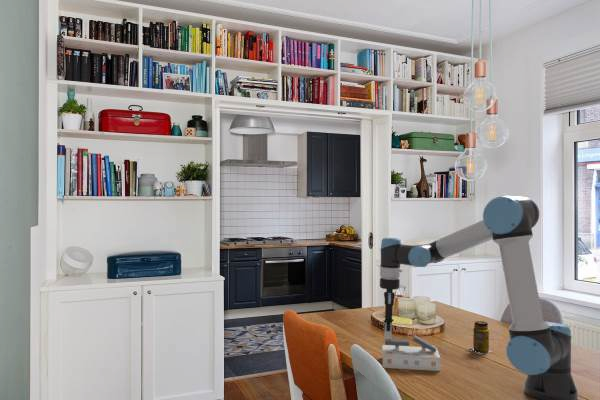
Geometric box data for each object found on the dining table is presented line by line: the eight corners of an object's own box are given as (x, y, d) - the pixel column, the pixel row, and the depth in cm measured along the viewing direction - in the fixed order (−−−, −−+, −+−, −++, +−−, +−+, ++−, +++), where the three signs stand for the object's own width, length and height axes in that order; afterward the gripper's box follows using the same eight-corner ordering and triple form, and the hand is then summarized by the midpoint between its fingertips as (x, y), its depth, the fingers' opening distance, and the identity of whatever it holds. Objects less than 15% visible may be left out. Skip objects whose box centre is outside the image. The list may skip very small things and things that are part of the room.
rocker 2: (434, 352, 179) (436, 349, 179) (413, 340, 180) (415, 337, 180) (433, 349, 183) (435, 345, 183) (412, 337, 185) (414, 334, 185)
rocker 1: (409, 346, 181) (409, 341, 181) (385, 344, 182) (385, 340, 182) (408, 342, 185) (408, 338, 185) (385, 341, 186) (385, 337, 186)
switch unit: (440, 371, 175) (440, 352, 175) (382, 367, 178) (382, 349, 178) (436, 360, 187) (436, 342, 187) (382, 357, 190) (382, 340, 190)
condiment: (493, 351, 199) (493, 322, 199) (480, 355, 194) (480, 325, 194) (478, 347, 205) (478, 319, 205) (465, 350, 200) (465, 322, 200)
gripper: (400, 281, 177) (398, 344, 177) (399, 275, 190) (397, 334, 190) (380, 280, 178) (378, 342, 178) (380, 274, 191) (378, 333, 191)
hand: (387, 338), depth 184 cm, fingers closed
